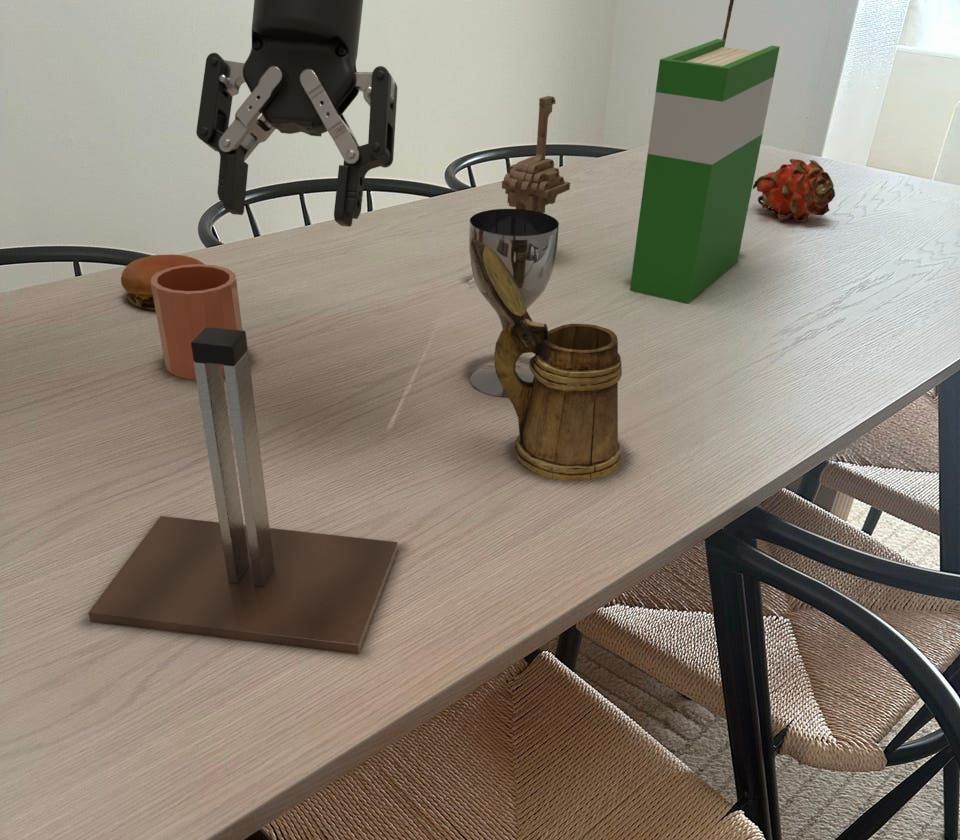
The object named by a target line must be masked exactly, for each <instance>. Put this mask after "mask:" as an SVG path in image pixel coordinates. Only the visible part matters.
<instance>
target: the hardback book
mask: <svg viewBox="0 0 960 840" xmlns="http://www.w3.org/2000/svg"><path fill="white" fill-rule="evenodd" d="M722 39H723V38H716V39H714V40H711V41H707V42H705V43H701V44H700V45H697V46H694V47H691V48H688V49H686V50H683V51H680V52H677V53H674V54H672V55H668V56H666V57H662V58H660V59H659V64H658V70H657V71H658V72H657V78H656V87H655V94H654V102H653V110H652V116H651V124H650V125H651V126H650V132H649V139H648V140H649V141H648V148H647V155H646V156H647V157H646V163H645V170H644V178H643V186H642V193H641V201H640V208H639V216H638V225H637V232H636V240H635V248H634V253H633V254H634V256H633V263H632V270H631V278H630V279H631V280H630V285H629V291H631V292H636V293H640V294H645V295H649V296H653V297H658V298H661V299H666V300H671V301H675V302H680V303H684V304H690V303H691V302H692V301H693V300H694V299H696V298H697V297H698V296H699V295H701V294H702V293H703V292H704V291H706V289H707V288H709V287H710V286H711V285H713V283H715V282H716V281H717V280H718V279H719V278H720V277H722V276H723V275H724V274H725V273H727V271H728V270H730V269H731V268H732V267H733V266H735V265H736V264H737V263H738V261H739V258H740V257H739V256H740V251H741V246H742V241H743V236H744V231H745V227H746V226H745V225H746V221H747V216H748V211H749V206H750V201H751V196H752V191H753V185H754V182H755V181H754V180H755V175H756V169H757V165H758V159H759V155H760V149H761V144H762V139H763V136H764V135H763V134H764V129H765V124H766V119H767V114H768V109H769V104H770V99H771V94H772V88H773V84H774V79H775V73H776V68H777V63H778V58H779V52H780V47H781V46H779V45H770V46H767V47H765V48H762V49H760V50H758V51H756V50H749V49H741V48H733V47H726V46H724V43H725V44H726V41H725V40H722Z"/></svg>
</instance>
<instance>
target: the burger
mask: <svg viewBox="0 0 960 840" xmlns="http://www.w3.org/2000/svg"><path fill="white" fill-rule="evenodd" d="M193 264H204V265H206V264H205V263H203V262H202V261H201V260H200V259H197V258H195V257H191V256H188V255H184V254H183V255H182V254H155V255H149V256H145V257H141V258H137V259H134V260H133V261H130V262H129V263H128V264H127V265H126V266H125V268H124V269H123V271H122V273H121V276H120V283H121V284H120V285H121V286H122V288H123V289H124V290H125V291H126V293H127V296H128V297H127V299H128V301H129V302H130V303H131V304H132V305H133V306H135V307H138V308H141V309H144V310H148V311H149V310H151V311H156V310H155V305H154V299H153V293H152V288H151V277H152V276H154V275H155V274H156V273H157V272H160V271H162V270H165V269H167V268H170V267H176V266H181V265H193Z"/></svg>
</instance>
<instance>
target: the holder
mask: <svg viewBox="0 0 960 840" xmlns="http://www.w3.org/2000/svg"><path fill="white" fill-rule="evenodd" d="M204 264H205V263H204ZM204 264H193V265H181V266H176V267H170V268H167V269H165V270H162V271H160V272H157V273H156V274H155V275H154V276H152V277H151V288H152V293H153V299H154V305H155V310H154V311H155V315H156V321H157V325H158V326H157V327H158V331H159V332H158V333H159V337H160V343H161V349H162V355H163V360H164V366H165V369H166V370H167V371H168V372H169V373H170V374H171V375H173V376H175V377H178V378H181V379H185V380H191V381H196V374H195V368H194V360H193V354H192V347H191V342H192V341H193V340H194V339H195V338H196V337H197V336H198V335H199V334H200V332H201V331H202V330H203V329H204V328H206V327H209V328H219V329H230V330H241V331H244V329H243V323H242V316H241V308H240V307H241V306H240V299H239V292H238V282H237V276H236V272H233V270H231V269H229V268H227V267H223V266H219V265H216V264H215V265H214V264H205V265H204ZM221 366H222V373H223V378H225V373H224V365H223V364H221Z"/></svg>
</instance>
